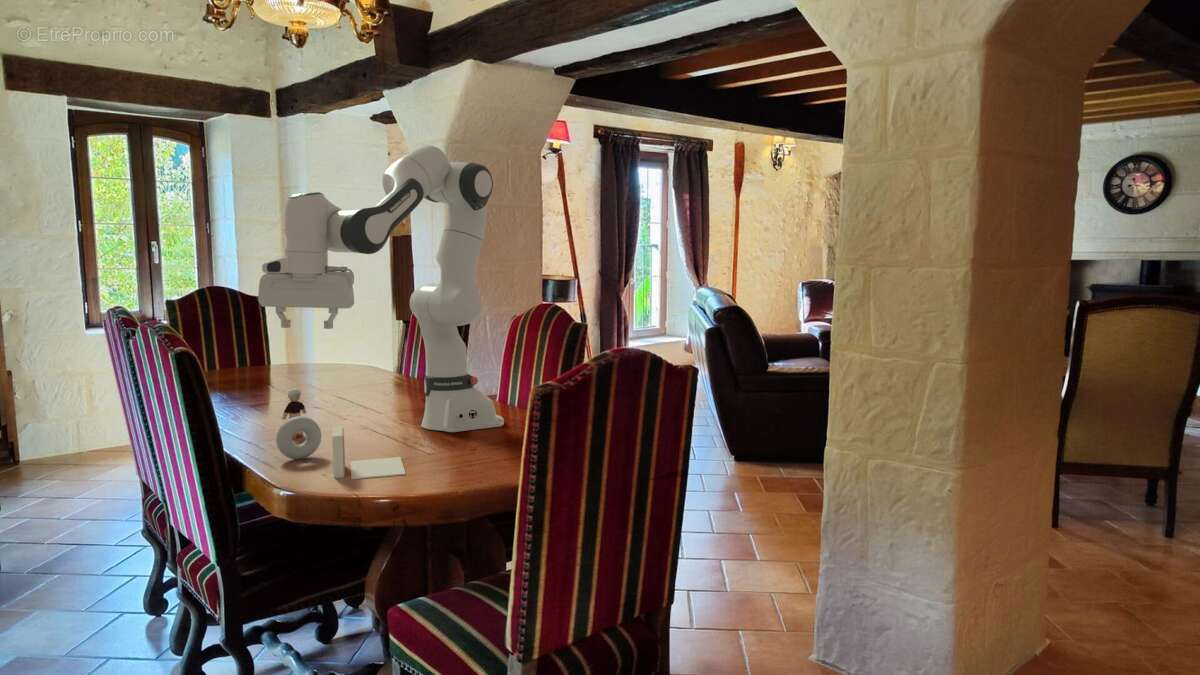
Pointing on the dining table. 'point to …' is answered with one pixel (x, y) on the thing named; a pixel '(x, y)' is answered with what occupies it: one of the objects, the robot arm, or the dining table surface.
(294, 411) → the grandmother figurine
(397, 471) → the placemat
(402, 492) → the dining table surface
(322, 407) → the dining table surface
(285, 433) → the donut
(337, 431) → the tile
